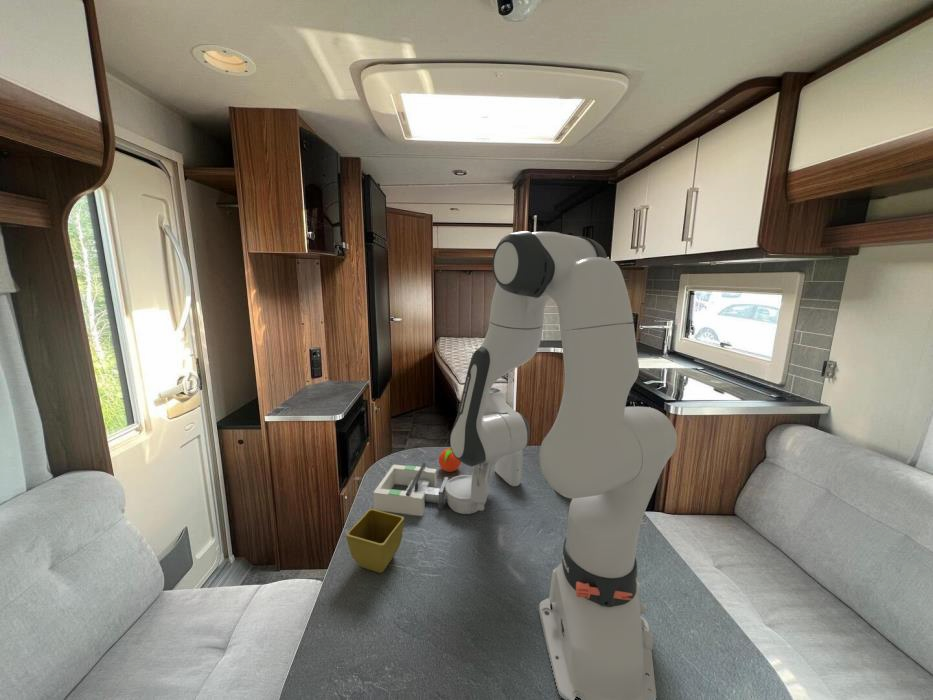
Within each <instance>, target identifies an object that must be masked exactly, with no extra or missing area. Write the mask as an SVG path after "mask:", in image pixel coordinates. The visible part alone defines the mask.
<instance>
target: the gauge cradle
mask: <svg viewBox="0 0 933 700" xmlns="http://www.w3.org/2000/svg"><path fill="white" fill-rule="evenodd" d="M420 468H421V466H416V465H415V466H414V465H408V464H407V465H402V464H392V465H391V467H390V468H389V470H387V473H386V474H385V476H384V477H383V478H382V480H381V481H380V483H379V484H378V485H377V487H376V488H375V490H373V493H372V494H373V495H372V496H373V509H375V510H378V511H382V512H386V513H394V514H395V513H396V514H403V515H411V516H418V517H423V515H424V513H425V511H426V509H425V503H426V501H425V499H424V494H421V493H415V492H411V493H410V495H409V496H406V493H407V491H406V490H402V489H401V490H400V489H393V487H394V486H395V485H400V486H401V485H402V486H407V487H408V486H409V484H410V482H411V481H412V479H415V477H416V475H417V473H418V472H419V470H420ZM419 479H421V480H430V487H432V488H437V483H438V481H437V480H438V479H437V469H436V468H428V467H426V466H425V468H424V470H423V471H422V473H421V475H420V477H419Z"/></svg>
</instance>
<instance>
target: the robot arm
mask: <svg viewBox="0 0 933 700" xmlns="http://www.w3.org/2000/svg"><path fill="white" fill-rule="evenodd" d="M492 271H493V272H492V273H493V276H494V279H495V280H496V284H495V288H494V291H493V295H492V300H491V305H490V307H491V308H490V312H489V313H490V314H489V323H488V328H487V332H486V334H485V337H484V339H483V341H482V343H481V344H480V346H479V347H478V348H477V349H476V350H474V352H473V354H472V356H471V357H470V361H469V364H468V368H467V369H468V370H467V373H466V377H465V381H464V385H463V390H462V392H461V393H462V394H461V398H460V402H459V407H458V412H457V416H456V418H455V421H454V423H453V426H452V428H451V431H450V436H449V443H450V444H449V445H450V448H451V450H452V453H453V455H454V456H455V457H456V458H457V459H458V460H459V461H461V463H462V464H464V465H465V466H469V467H472V468H473V470H472V474H471V476H472V483H471V501H472V502H474V503H477V510H478V511H480V512H481V511H484V510H485V507H486V505H485V504H486V503H487V500H488V494H489V489H490V485H491V480H492V476H493V472H494V468H495V464H496V462H497V461H498V460H500V459H501V457H503V456H506V455H509V454H512V453H516V452H519V451H521V450H522V451H524V450H526V448H527V447H528V446H527V445H528V444H529V441H530V437H531V436H530V434H531V433H530V432H531V431H530V424H529V421H528V420H527V419H526V418H525V416H524V415H522V414H521V413H520V412H518V411H516V410H514V409H513V408H512V407H511V406H510V405H509V404H508V402H506V400H505V398H504V394H503V392H502V391H501V390H500V389H499V388H497V387H496V388H495V387H493V385H494V384H495V383H496V382H497V381H498V380H499V379H501V378H502V377H503V376H504V375H507V373H509V372H511V371H512V370H514V369H517V368H519V367H521V366H523V365H524V364H526V363H528V362H529V361H530V360H531V359H532V358H533V357H534V356H535V355H536V354H537V352H538V350H539V347H540V345H541V341H542V336H543V327H544V326H543V325H544V317H545V316H544V314H545V307H546V305H547V302H548V301H549V300H550V298H551V299H552V300H553V301H554V302H555V304H556V306H557V310H558V317H559V318H558V319H559V329H560V338H561V345H562V346H561V347H562V359H563V367H564V371H563V372H564V381H563V382H564V384H563V392H562V397H561V402H560V406H559V409H558V413H557V416H556V419H555V421H554V423H553V425H552V426H551V428H550V430H549V431H548V433H547V435H546V436H545V437H544V438H543V440H542V441H541V445H540V448H539V464H540V469H541V472H542V475H543V477H544V478H545V479H546V482H547V483H548V484H549V486H551V488H552V489H553V490H554V491H555V492H556V491H557V492H556V493H558V494H559V495H561V496H562V497H565V498H567V499H571V502H570V504H569V507H568V516H567V517H568V518H567V530H566V537H565V539H564V541H563V545H562V548H561V549H562V551H561V556H562V557H561V562H560V563H559V564H558V566H556V567H555V568H554V569H553V570H552V573H551V579H550V580H551V581H550V582H551V583H550V587H549V588H550V589H549V597H547V598H545V599H544V600H541V601H540V602H539V604H538V608H537V609H538V615H539V619H540V623H541V629H542V632H543V637H544V640H545V645H546V649H547V653H549V654H548V658H550V659H549V662H551V663H550V667H551V666H552V668H551V671H552V670H553V672H552V675H554V676H553V679H554V678H555V681H554V683H555V682H556V685H555V687H556V686H557V689H558V691H559V693H560V694H561V695H562V696H564V697H565V698H567V699H569V700H574V699H575V698H576V697H575V696H576V695H580V696H581V698H582V699H583V700H584V699H585V700H648V699H650V700H651V699H653V698H654V699H655V698H657V689H656V680H655V673H654V672H655V670H654V663H653V661H654V660H653V652H652V651H653V649H654V635H653V632H651V631H650V625H649V622H648V621H647V620H646V619H645V617H643V616H642V615H646V613H647V605H646V604H644V603H641V601H640V589H641V583H639V581H638V575H639V574H638V561H637V557H636V556H637V555H636V554H637V549H638V542H639V536H640V529H641V525H642V521H643V518H644V514H646V513H645V512H646V510H647V507H648V505H649V502H650V500H651V498H652V496H653V493H654V491H655V489H656V486H657V483H658V481H659V478H660V476H661V473H662V471H663V470H664V469H665V468H664V467H665V466H666V465H667V463H668V462H669V460H670V458H671V457H672V456H673V455H674V453H675V451H676V449H677V445H678V436H677V432H676V428H675V427H674V424H673V423H672V421H671V420H670V419H669V417H668V416H666V415H665V414H664V413H663V412H661V410H660V411H659V410H658V409H656V408H653V407H650V406H626V405H627V401H628V396H629V394H630V392H631V389H632V387H633V385H634V383H636V381H637V379H638V376H639V371H640V366H639V365H640V364H639V355H638V349H637V340H636V332H635V324H634V315H633V310H632V305H631V300H630V296H629V292H628V289H627V284H626V281H625V279H624V275H623V273H622V270H621V268H620V266H619V265H618V264H617V263H616V262H615V261H613V260H611V259H610V258H608V256H607V253H606V251H605V248H603V246H602V245H601V244H600V243H598V242H597V241H596V240H594V239H591V238H590V237H586V236H581V235H579V236H575V235H569V234H566V233H565V234H564V233H560V232H558V231H557V232H556V231H533V232H531V231H527V230H523V231H517V232H512V233H509V234H506V235H505V236H503V238H501V239H500V241H499V242H498V243H497V246H496V247H495V250H494V251H493V257H492ZM646 675H648V676H649V677H647V676H646ZM557 689H556V690H557ZM648 690H650V691H651V692H649V691H648ZM576 699H577V698H576Z"/></svg>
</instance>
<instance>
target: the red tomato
mask: <svg viewBox="0 0 933 700" xmlns="http://www.w3.org/2000/svg"><path fill="white" fill-rule="evenodd" d="M438 463H439V466H440V468H441V469H442V470H443V471H445V472H449V473H452V472H454V471H456V470H458V469H459V467H460V465H461V463H462V462H461V461H459V460H458V459H457V458H456V457H455V456H454V455H453V453H452V450H451V447H450V448H449V447H448V448H446V449H444V450H443V451H442V452H441V453H440V454H439V457H438Z"/></svg>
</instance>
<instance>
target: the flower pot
mask: <svg viewBox="0 0 933 700" xmlns="http://www.w3.org/2000/svg"><path fill="white" fill-rule="evenodd" d="M404 521H405V517H404V516H401V515H398V514H395V513H391V512H387V511H380V510H375V509H374V508H369V509H368V510H367V511H366V512H365V513H364V514H363V516H362V517H361V518H360V519H359V520H358V521H357V522H356V523H355V524H354V525H353V526H352V527H351V528H350V529H349V531H347V533H346V535H345V536H346V542H347V545H348V548H349V549H348V550H349V552H350V555H351V557H352V559H353V561H355V563H357V564H358V566H360V567H361V568H364V569H367V570H369V571H372V572H375V573H379V574H380V573H383V572H385V570H386V568H387V567H388V565H389V564H390V562H391V561H392V559H394V557H395V555H396V553H397V551H398V549H399V548H400V544H401V542H402V539H403V531H404V523H405V522H404Z"/></svg>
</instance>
